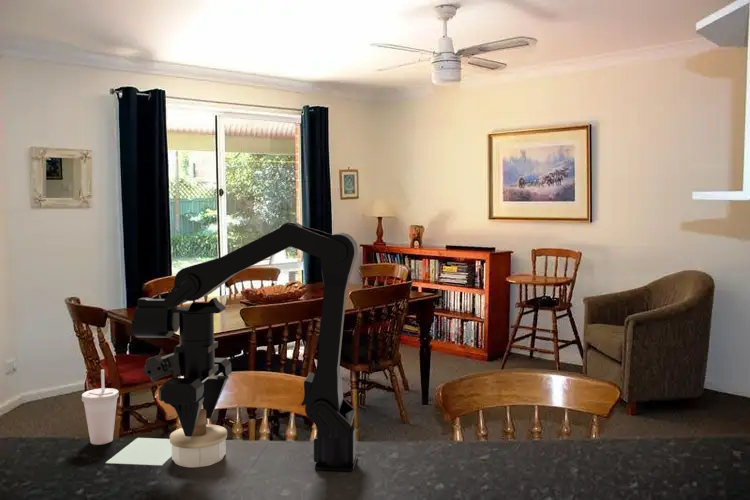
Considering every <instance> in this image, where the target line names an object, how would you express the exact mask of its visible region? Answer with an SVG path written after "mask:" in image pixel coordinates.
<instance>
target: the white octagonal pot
mask: <svg viewBox="0 0 750 500" xmlns="http://www.w3.org/2000/svg"><path fill="white" fill-rule="evenodd" d="M226 441H227V440H226V439H225V440H224V441H223V442H221V443H219V444H216V445H213V446H209V447H204V448H180V447H176V446H174V445H172V456H171V459H172V461H173V463H175V465H178V466H179V467H184V468H202V467H208V466H211V465H214V464H217V463H219V462H220V461H222V460H223V459H224V457H225V455H226V454H227V453H226V452H227V447H226V445H227V443H226Z"/></svg>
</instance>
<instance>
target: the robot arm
mask: <svg viewBox="0 0 750 500" xmlns="http://www.w3.org/2000/svg"><path fill="white" fill-rule="evenodd" d="M357 243H358V242H357V241H356V240H355V238H354V237H353V236H351V234H348V233H345V232H337V233H333V234H331V233H327V232H326V231H322V230H318V229H315V228H311V227H308V226H305V225H302V224H300V223H299V222H296V221H291V222H289V221H288V222H285V223H284V224H282V225H281V226H279V227H278V228H277V229H275V230H273V231H270V232H267V234H264V235H263V236H260V237H258V238H257V239H254V240H252V241H251V242H249V243H247V244H245V245H242V246H241V247H239V248H237V249H235V250H233V251H231V252H229V253H226V254H224V255H223V256H219V257H217V258H213V259H211V260H207V261H204V262H203V261H202V262H201V263H197V264H192V265H191V266H186V267H183V268H181V269H179V271H178V272H176V274H175V278H174V283H173V284H174V285H173V286H172V288H171V290H170V291H169V293H168V294H167V295H166V297H165V298H152V297H141V298H138V299H137V301H136V304H137V306H136V307H135V310H134V312H133V318H132V319H131V329H132V333H133V335H134V336H135V338H152V339H153V338H156V339H157V338H161V339H162V338H167V339H171V338H172V337H173V335H174V334H175V333H177V332H178V331H179V344H177V345H176V346H174V348H173V352H172V353H169V354H166V355H163V356H160V355H155V356H152V357H149V358H147V359H145V365H144V366H143V367H144V372H143V373H144V375H145V376H147V377H148V378H150V380H151V382H156V381H158V380H160V379H162V378H164V377H166V376H170V375H173V376H172V377H171V378H170V379H168V380H166V382H164V383H163V384H162V385H161V386H159V388H158V400H159V401H160V402H163V403H164V404H165V405H166V404H167V405H170V406H171V407H172V408H173V409H174V411H175V412H176V415H177V417H178V420H179V422H180V426H181V428H183V431H184V434H185V436H187V437H191V436H192V435H193V432H194V429H195V426H196V423H197V419H198V416H199V413H200V409H205V410H206V420H207V419H211V418H212V417H213V415H214V412H215V410H216V408H217V405H218V402H219V399H220V398H221V396H222V393H223V391H224V388H225V386H226V384H227V382H228V380H229V379H230V377H229V375H231V374H232V362H231V361H230V360H229V359H228V358H227V357H215V349H217V348H218V347H219V340H217V341H216V340H215V326H214V325H215V324H214V323H215V321H214V319H215V317H214V315H215V314H220V313H222V312H224V311H225V310H227V307H226V306H225V305H224V304H223V303H222V302H220V300H218V298H217V297H213V298H211V299H210V301H197V300H200V299H202V298H205V297H207V296H209V295H210V294H212V293H214V291H216V290H217V289H218V288H220V287H221V286H223V285H224V284H225V283H227V282H228V281H229V280H230V279H231V278H233V277H234V276H235V275H237V274H238V273H240V272H242V271H245V270H247V269H248V268H250V267H253V266H254V265H256V264H258V263H260V262H263V261H264V260H267V259H268V258H270V257H273V256H275V255H276V254H279V253H280V252H282V251H284V250H287V249H289V248H294V249H297V250H298V251H301V252H304V253H306V254H308V255H310V256H313V257H317V258H319V260H320V272H321V276H322V283H323V294H322V303H321V304H322V305H321V306H322V307H321V314H320V315H321V317H320V327H319V328H320V329H319V337H318V339H319V340H318V349H317V359H316V369H315V372H314V373H313V372H308V375H307V376H306V378H304V381H303V390H304V393H303V394H304V397H303V401H302V402H301V406H302V407H303V406H305V407H304V411H305V415H306V417H307V418H308V419H309V420H310V422H312V423H313V424H314V425H315V428H316V434H315V436H314V437H313V462H314V463H315V465H314V470H317V471H318V470H319V471H341V472H352V471H354V470H355V469H354V468H355V465H356V463H357V459H358V454H356V445H357V443H356V442H357V441H356V433H357V431H356V425H352V424H353V421H354V417H355V414H356V409H355V407H353V406H352V405H351V404H350V403H349V402H348V401H347V400H346V399H345V398H344V393H343V392H344V391H343V379H342V374H341V365H340V363H341V354H342V352H341V351H342V343H343V341H342V340H343V331H344V323H345V313H346V312H345V311H346V304H347V303H346V302H347V301H346V300H347V292H348V291H347V290H348V286H349V282H350V280H351V277H352V273H353V269H354V266H355V263H356V259H357V255H358V250H359V249H358V244H357ZM187 302H192V303H191V304H190V305H189V306H181V305H183V304H185V303H187Z"/></svg>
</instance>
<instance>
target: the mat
mask: <svg viewBox="0 0 750 500" xmlns="http://www.w3.org/2000/svg"><path fill="white" fill-rule="evenodd" d="M171 458H172V444H171V443H170V438H152V437H137V438H135V439H134V440H133V441H132V442H130V443H129V444H128V445H126V446H125V447H124V448H122V449H121V450H120V451H119V452H117V453H116V454H114V455H113V456H112V457H111V458H110V459H108V460H107V461H106V462H105V464H112V465H113V464H114V465H116V464H117V465H118V464H119V465H135V466H136V465H141V466H161V467H162V466H163V465H164V464H165V463H166V462H168V460H170V459H171Z"/></svg>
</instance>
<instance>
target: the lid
mask: <svg viewBox="0 0 750 500" xmlns="http://www.w3.org/2000/svg"><path fill="white" fill-rule="evenodd" d="M227 437H228V430H227V429H226V428H225V427H223V426H221V425H219V424H218V425H216V424H210V423H209V424H207V419H206V410H205V409H203V408H201V409H200V413H199V416H198V419H197V423H196V426H195V429H194V432H193V435H192V436H191V437H187V436H185V434H184V431H183V428H182V427H181V428H178V429H176V430H173V431H172V432H171V433H170V434H169V439H170V443H171V444H172V445H174V446H176V447H180V448H204V447H209V446H213V445H216V444H219V443H221V442H223V441H224V440H225V441H226V439H227Z"/></svg>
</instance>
